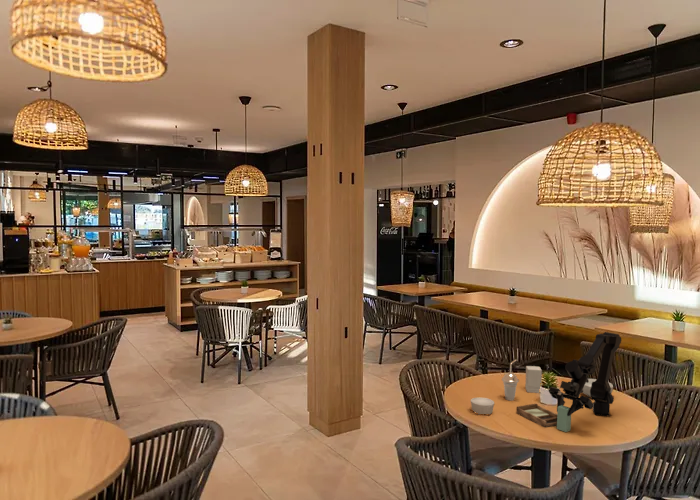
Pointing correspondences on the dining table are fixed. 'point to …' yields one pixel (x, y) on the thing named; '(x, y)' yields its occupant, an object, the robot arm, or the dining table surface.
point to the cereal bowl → (588, 386)
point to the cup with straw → (510, 384)
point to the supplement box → (533, 379)
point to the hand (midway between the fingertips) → (562, 413)
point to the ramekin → (482, 405)
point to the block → (563, 419)
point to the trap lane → (538, 415)
